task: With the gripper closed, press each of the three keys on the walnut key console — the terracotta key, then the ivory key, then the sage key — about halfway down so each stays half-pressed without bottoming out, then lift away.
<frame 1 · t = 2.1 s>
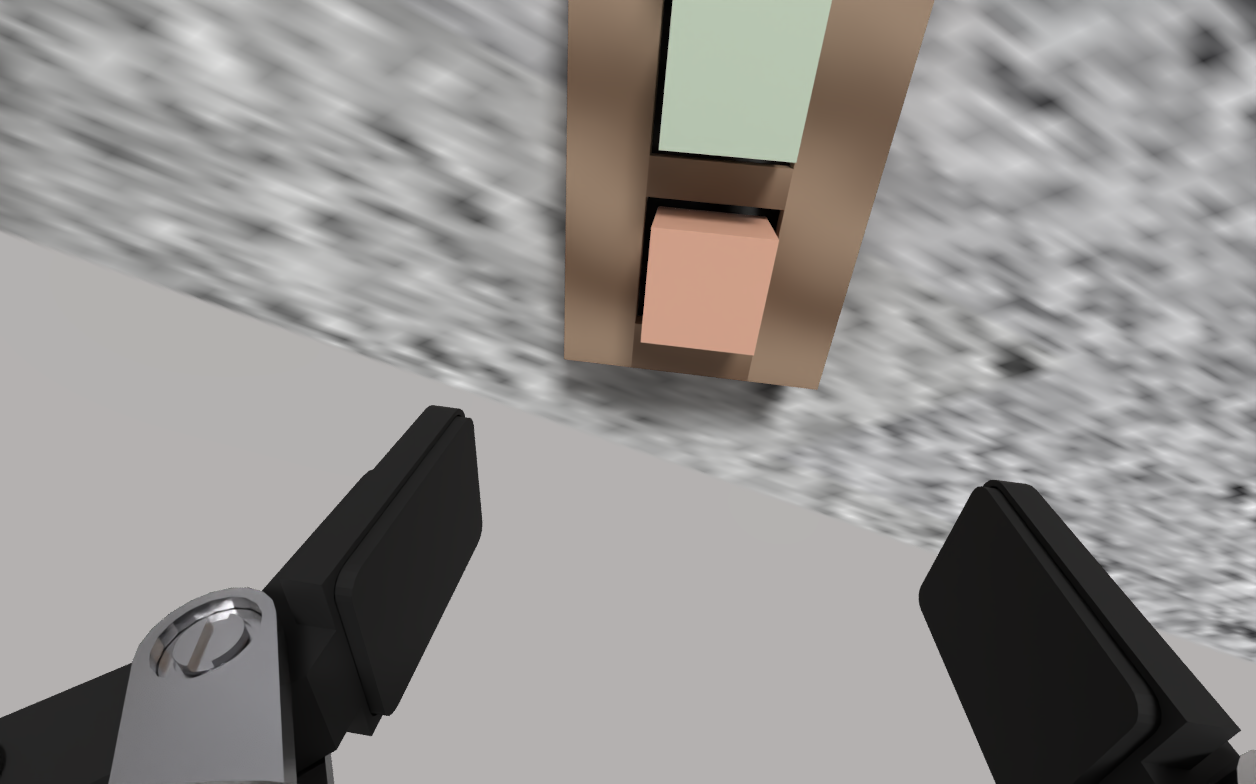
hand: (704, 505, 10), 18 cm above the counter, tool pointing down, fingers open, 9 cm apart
console: (727, 80, 22), on the counter
sage key: (735, 77, 18), point 5 cm above the counter, slide at 0.0 cm
terracotta key: (704, 278, 21), point 5 cm above the counter, slide at 0.0 cm
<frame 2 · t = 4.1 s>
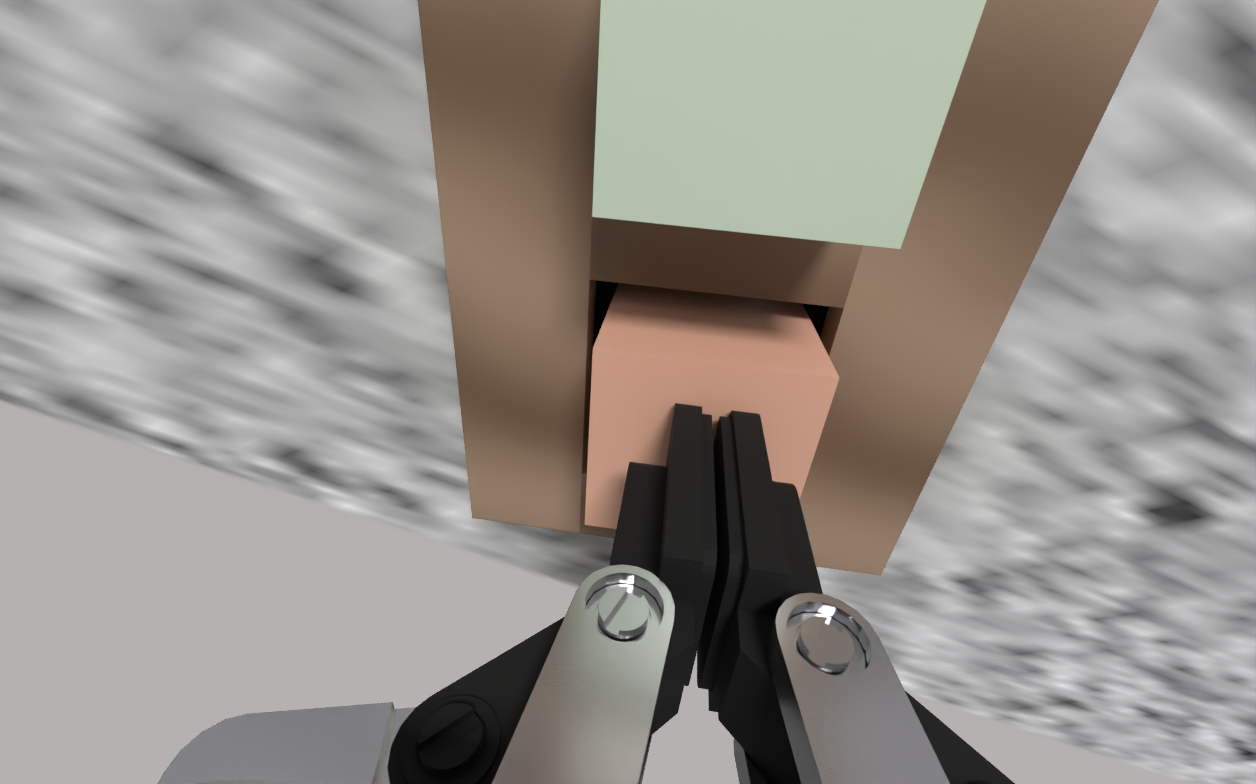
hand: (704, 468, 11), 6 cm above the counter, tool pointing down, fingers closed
console: (738, 68, 12), on the counter
sage key: (760, 57, 8), point 5 cm above the counter, slide at 0.0 cm
terracotta key: (696, 408, 12), point 4 cm above the counter, slide at 0.7 cm, touching gripper
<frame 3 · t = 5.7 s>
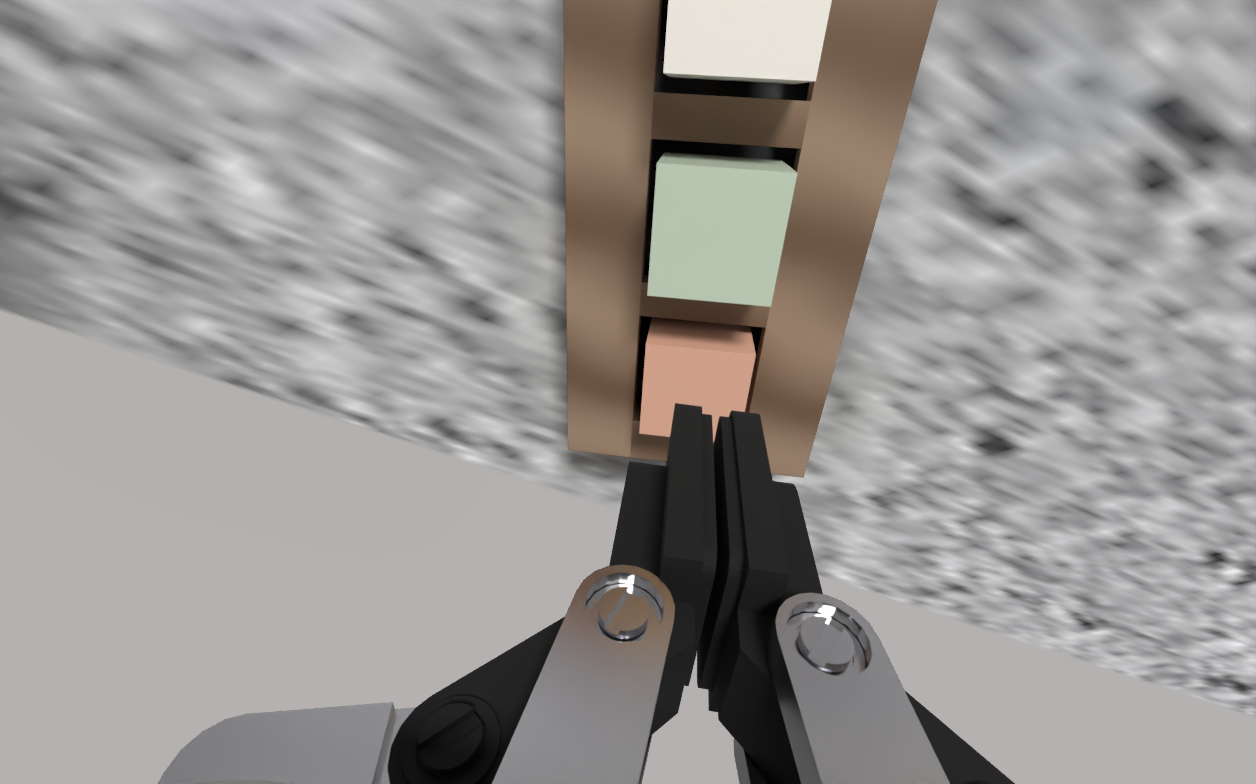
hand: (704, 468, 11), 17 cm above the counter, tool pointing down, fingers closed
console: (713, 203, 24), on the counter
sage key: (715, 226, 19), point 5 cm above the counter, slide at 0.0 cm
terracotta key: (694, 374, 24), point 4 cm above the counter, slide at 1.2 cm
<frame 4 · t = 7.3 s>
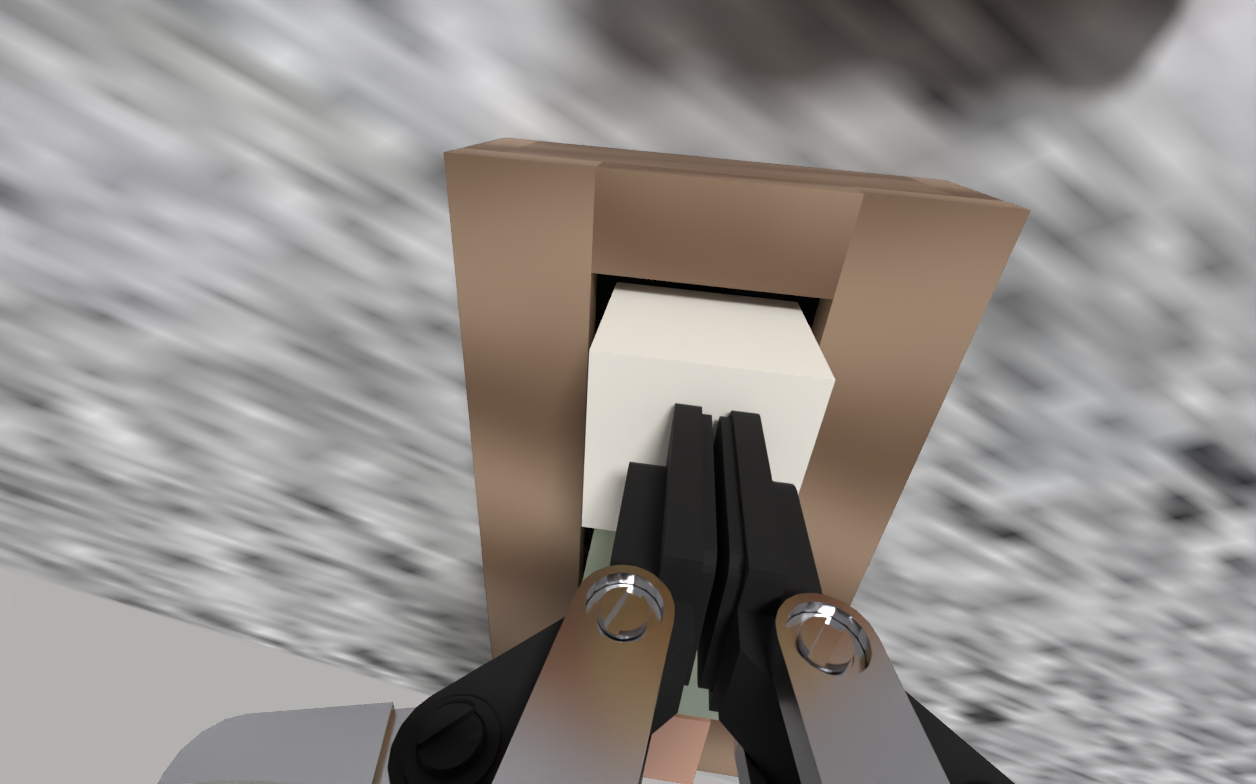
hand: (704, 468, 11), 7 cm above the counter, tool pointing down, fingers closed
ivory key: (693, 410, 12), point 5 cm above the counter, slide at 0.0 cm, touching gripper
console: (668, 493, 20), on the counter
sage key: (661, 602, 16), point 5 cm above the counter, slide at 0.0 cm
terracotta key: (643, 690, 20), point 4 cm above the counter, slide at 1.2 cm
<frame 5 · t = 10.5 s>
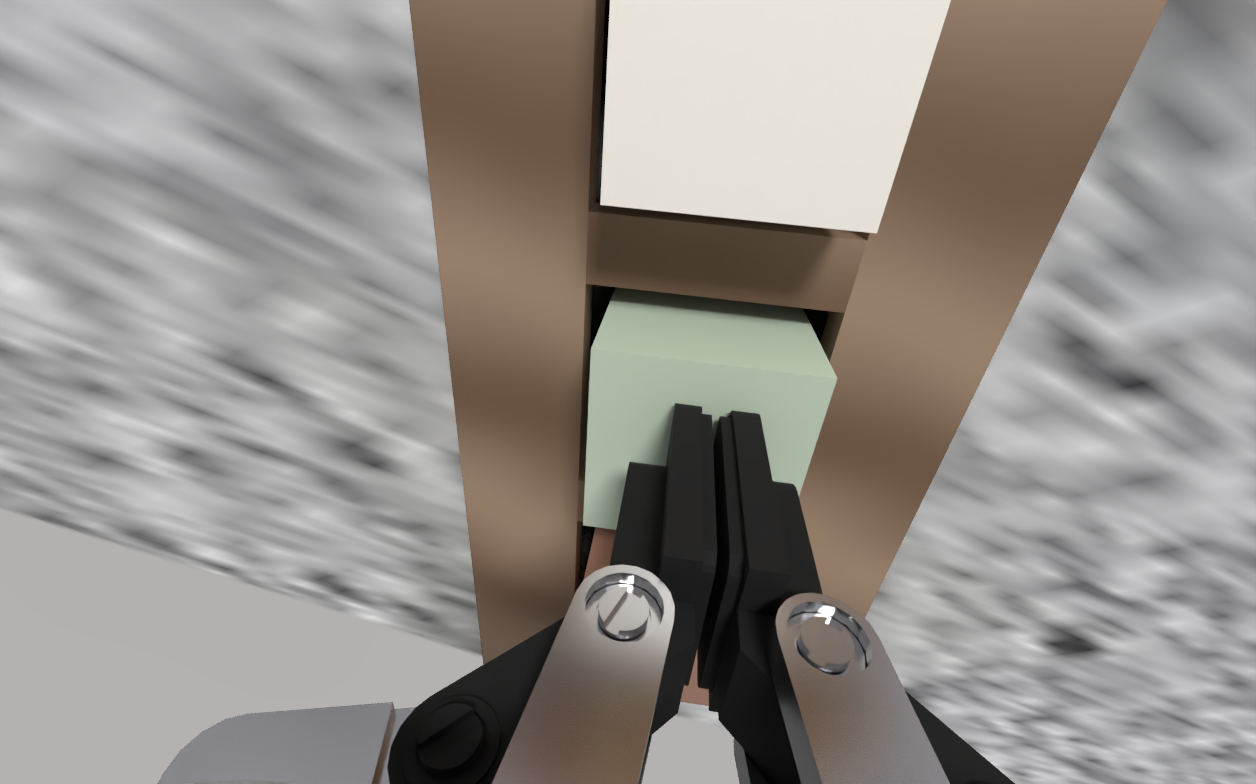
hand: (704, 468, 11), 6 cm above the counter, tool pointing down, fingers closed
ivory key: (752, 61, 9), point 4 cm above the counter, slide at 1.2 cm
console: (694, 338, 16), on the counter
sage key: (694, 409, 12), point 4 cm above the counter, slide at 0.9 cm, touching gripper
terracotta key: (662, 592, 16), point 4 cm above the counter, slide at 1.2 cm
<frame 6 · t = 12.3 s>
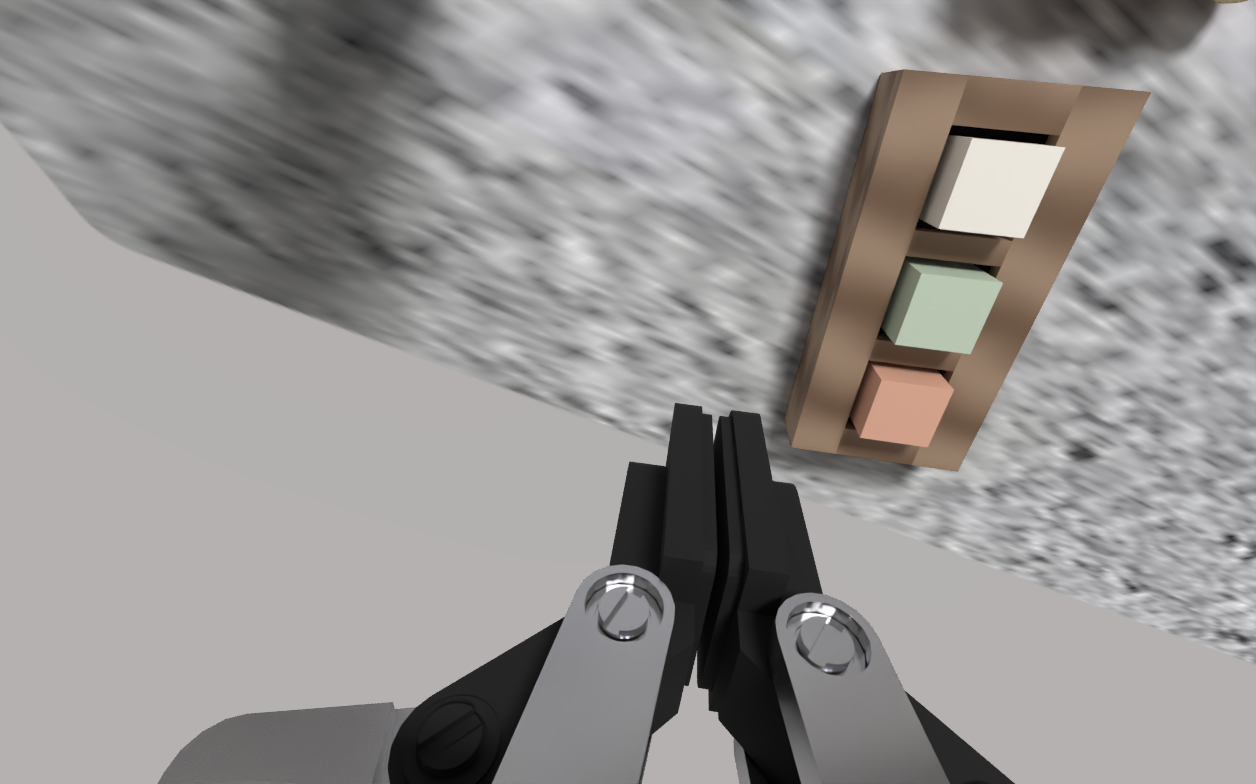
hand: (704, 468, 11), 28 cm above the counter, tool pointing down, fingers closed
ivory key: (981, 184, 29), point 4 cm above the counter, slide at 1.2 cm
console: (913, 285, 36), on the counter
sage key: (933, 303, 32), point 4 cm above the counter, slide at 1.2 cm
terracotta key: (895, 399, 36), point 4 cm above the counter, slide at 1.2 cm
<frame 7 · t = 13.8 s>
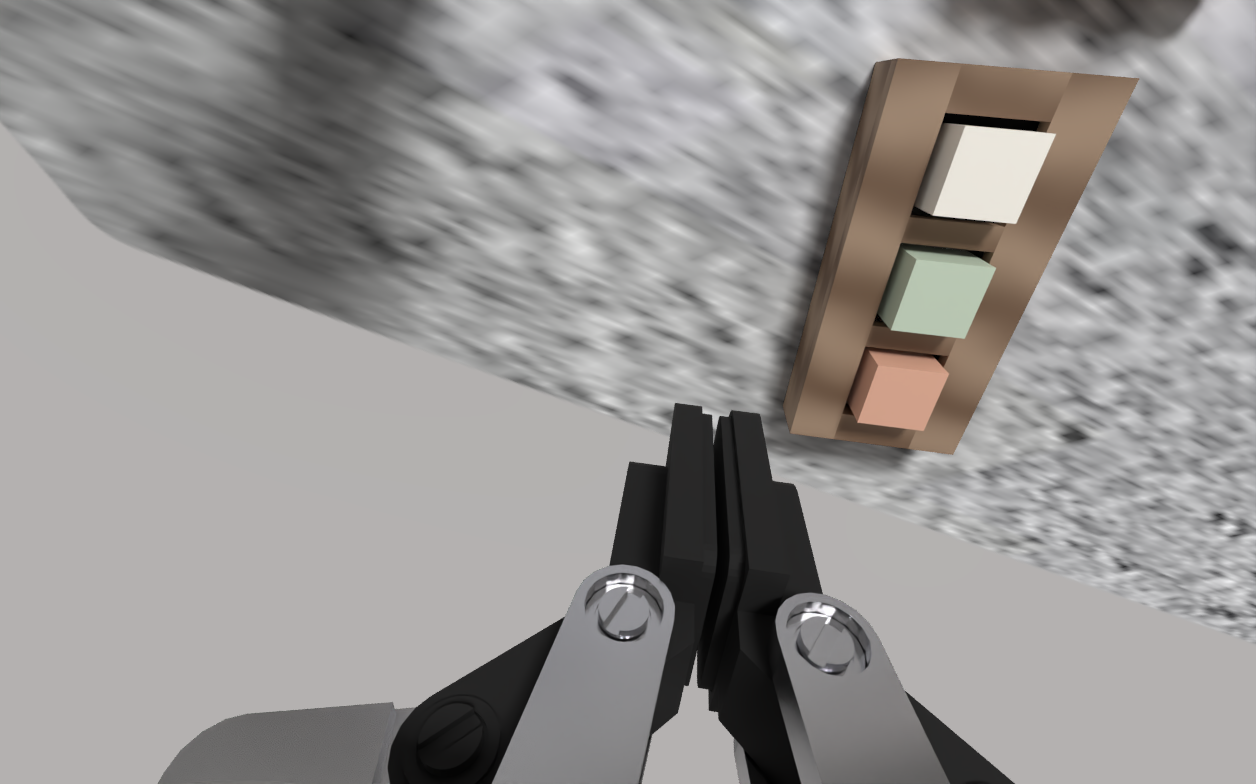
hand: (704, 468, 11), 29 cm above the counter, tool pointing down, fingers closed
ivory key: (974, 171, 29), point 4 cm above the counter, slide at 1.2 cm
console: (908, 272, 36), on the counter
sage key: (928, 289, 33), point 4 cm above the counter, slide at 1.2 cm
terracotta key: (892, 384, 36), point 4 cm above the counter, slide at 1.2 cm
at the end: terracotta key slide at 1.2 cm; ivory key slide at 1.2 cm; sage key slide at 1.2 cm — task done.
